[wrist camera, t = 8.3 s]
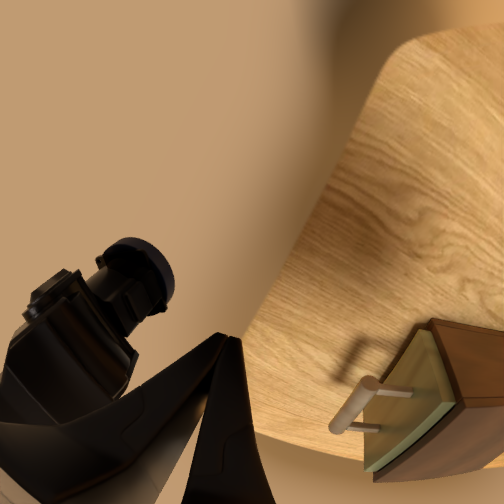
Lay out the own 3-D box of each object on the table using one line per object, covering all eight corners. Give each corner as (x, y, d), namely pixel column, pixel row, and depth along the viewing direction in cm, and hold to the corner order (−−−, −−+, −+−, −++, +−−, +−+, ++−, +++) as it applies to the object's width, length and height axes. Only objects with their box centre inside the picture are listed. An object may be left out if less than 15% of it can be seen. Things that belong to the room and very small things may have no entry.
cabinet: (370, 406, 23) (372, 482, 15) (431, 317, 18) (466, 407, 10) (465, 410, 21) (479, 469, 14) (526, 335, 16) (560, 397, 9)
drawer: (321, 403, 23) (315, 468, 17) (368, 318, 18) (381, 398, 12) (457, 413, 21) (468, 463, 15) (515, 344, 16) (542, 396, 10)
